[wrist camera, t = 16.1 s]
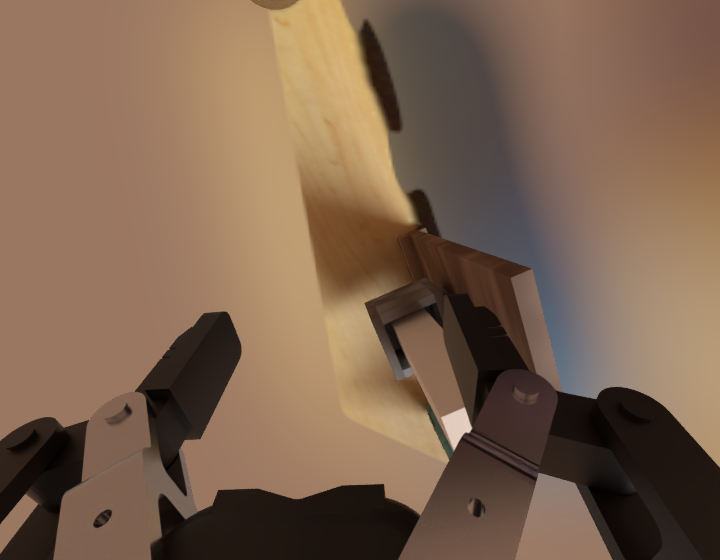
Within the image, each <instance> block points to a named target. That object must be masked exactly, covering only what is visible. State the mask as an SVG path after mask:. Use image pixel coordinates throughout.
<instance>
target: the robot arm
mask: <svg viewBox="0 0 720 560" xmlns="http://www.w3.org/2000/svg"><path fill="white" fill-rule="evenodd" d="M251 1H253V2H254V3H255V4H257V5H259V6H261V7H264V8H268V9H284V8H287V7H290V6H291V5H293V4H295V3H296V2H297V1H298V0H251ZM443 337H444V343H445V347H446V350H447V353H448V356H449V359H450V362H451V365H452V369H453V372H454V375H455V378H456V381H457V384H458V387H459V390H460V393H461V397H462V400H463V403H464V406H465V409H466V412H467V415H468V418H469V421H470V425H471V427H472V429H471V431H470V432H469V433H467V432H465V433H464V434H463V436H462V437H461V439H460V440H459V442H458V444H457V446H456V448H455V450H454V452H453V454H452V456H451V458H450V460H449V462H448V464H447V466H446V468H445V470H444V471H443V473H442V475H441V477H440V479H439V481H438V483H437V485H436V487H435V489H434V491H433V493H432V495H431V497H430V499H429V501H428V502H427V504H426V506H425V508H424V510H423V512H422V514H421V515H419V514H418V513H417V512H416V511H414V510H413V509H411V508H409V507H408V506H406V505H404V504H402V503H400V502H398V501H395V500H392V499H389V498H386V497H385V490H384V484H374V485H349V486H348V485H346V486H340V487H336V488H333V489H330V490H327V491H324V492H321V493H318V494H315V495H312V496H309V497H306V498H303V499H292V498H288V497H285V496H281V495H278V494H274V493H271V492H267V491H264V490H261V489H235V490H218V492H217V495H216V498H215V500H214V503H213V505H212V506H210V507H208V508H205V509H203V510H201V511H199V512H198V511H197V508H196V506H195V503H194V499H193V494H192V490H191V485H190V481H189V476H188V471H187V467H186V462H185V457H184V453H183V451H182V450H181V448H180V447H181V446H182V444H183V442H184V440H194V439H201V437H202V435H203V433H204V431H205V429H206V427H207V425H208V423H209V420H210V418H211V416H212V414H213V412H214V410H215V408H216V406H217V404H218V402H219V400H220V398H221V396H222V394H223V392H224V390H225V388H226V386H227V384H228V382H229V380H230V378H231V376H232V374H233V372H234V370H235V368H236V366H237V364H238V362H239V359H240V356H241V343H240V340H239V338H238V335H237V333H236V330H235V328H234V325H233V323H232V320H231V318H230V316H229V314H228V313H227V312H212V313H204V314H203V315H202V316H201V317H200V318H199V320H198V321H197V322H196V324H195V325H194V326H193V327H191V328H190V329H188V330H187V331H186V332H184V333H183V334H182V335H180V336H179V337H178V338H177V339H176V340H175V342H174V343H173V344H172V345H171V347H170V350H168V351H167V352H166V353H165V354H164V355H163V357H162V359H160V361H159V362H158V363H157V364H156V366H155V367H154V368H153V369H152V370H151V372H150V373H149V374H148V376H147V377H146V378H145V379H144V380H143V382H142V383H141V384H140V386H139V387H138V388H137V389H136V390H135V392H130V393H126V394H123V395H120V396H118V397H116V398H114V399H112V400H110V401H109V402H107V403H106V404H104V405H103V406H102V407H101V408H99V409H98V410H97V411H96V412H95V413H94V415H93V416H92V417H91V418H90V420H88V421H84V422H81V423H78V424H75V425H72V426H69V427H65V428H64V427H63V426H62V425H61V424H60V423H59V422H58V421H57V420H56V419H54V418H51V417H45V418H40V419H37V420H34V421H31V422H29V423H27V424H25V425H23V426H21V427H19V428H18V429H16V430H14V431H13V432H11V433H10V434H9V435H7V436H6V437H5V438H3V439H2V440H1V441H0V524H1V522H2V521H3V520H4V519H5V518H6V516H7V515H8V514H9V513H10V511H11V510H12V509H13V508H14V507H15V505H16V504H17V503H18V502H19V501H20V499H21V498H22V497H23V496H24V495H25V494H26V495H28V496H29V497H30V498H32V499H33V500H34V501H35V502H37V503H38V505H37V507H36V508H35V509H34V510H33V512H32V513H31V514H30V516H29V517H28V519H27V520H26V521H25V522H24V524H23V525H22V526H21V527H20V529H19V530H18V531H17V533H16V534H15V535H14V537H13V538H12V539H11V540H10V542H9V543H8V544H7V546H6V547H5V548H4V550H3V551H2V553H1V554H0V560H515V557H516V553H517V549H518V546H519V542H520V539H521V535H522V532H523V528H524V524H525V520H526V517H527V513H528V510H529V506H530V503H531V499H532V495H533V492H534V488H535V485H536V481H537V477H538V473H542V474H546V475H549V476H553V477H556V478H560V479H563V480H567V481H570V482H574V483H576V485H577V487H578V489H579V491H580V494H581V495H582V498H583V500H584V501H585V504H586V506H587V508H588V510H589V512H590V514H591V516H592V518H593V520H594V522H595V524H596V526H597V529H598V531H599V532H600V535H601V537H602V539H603V541H604V543H605V545H606V547H607V549H608V551H609V553H610V555H611V557H612V559H613V560H720V467H719V466H718V465H717V464H716V463H715V462H714V461H713V460H712V459H711V457H710V456H709V455H708V454H707V453H706V452H705V451H704V450H703V449H702V447H701V446H700V445H699V444H698V443H697V442H696V441H695V440H694V438H693V437H692V436H691V435H690V434H689V433H688V432H687V431H686V430H685V428H684V427H683V426H682V425H681V424H680V423H679V422H678V421H677V420H676V419H675V417H674V416H673V415H672V414H671V413H670V412H669V411H668V410H667V409H666V408H665V407H664V406H663V405H662V404H660V403H659V402H657V401H656V400H654V399H653V398H651V397H649V396H647V395H645V394H643V393H641V392H638V391H635V390H632V389H628V388H623V387H610V388H606V389H604V390H602V391H601V392H600V393H599V395H598V397H597V399H592V398H587V397H582V396H577V395H572V394H567V393H563V392H560V391H557V390H555V389H554V387H553V386H552V385H551V384H550V383H549V382H548V381H547V380H546V379H544V378H543V377H542V376H540V375H538V374H536V373H533V372H531V371H530V370H529V369H528V367H527V366H526V364H525V362H524V361H523V359H522V357H521V356H520V354H519V352H518V351H517V349H516V347H515V346H514V344H513V342H512V341H511V339H510V337H508V334H507V332H506V331H505V329H504V328H503V327H502V324H501V323H500V321H499V319H498V318H497V316H496V315H495V314H494V313H493V312H491V311H490V310H489V309H487V308H486V307H485V306H479V307H474V305H473V303H472V301H471V299H470V297H469V295H468V294H467V293H463V294H450V295H445V297H444V316H443Z"/></svg>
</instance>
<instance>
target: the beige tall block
mask: <svg viewBox="0 0 720 560" xmlns="http://www.w3.org/2000/svg"><path fill="white" fill-rule="evenodd" d="M390 323H391V325H392V328H393V330H394V332H395V335H396V337H397V340H398V342H399V344H400V346H401V348H402V350H403V352H404V354H405V356H406V358H407V360H408V362H409V364H410V366H411V368H412V370H413V372H414V374H415V376H416V378H417V380H418V382H419V384H420V386H421V388H422V390H423V392H424V394H425V396H426V398H427V400H428V402H429V404H430V406H431V408H432V410H433V412H434V414H435V416H436V418H437V420H438V422H439V424H440V426H441V428H442V430H443V432H444V434H445V436H446V438H447V440H448V442H449V444H450V446H451V448H452V450H453V452H454V450H455V448H456V446H457V444H458V442H459V440H460V439H461V437H462V436H463V434H464V433H465V432H467V433H469V432H470V431H471V429H472V427H471V425H470V421H469V418H468V415H467V412H466V409H465V406H464V403H463V400H462V397H461V393H460V390H459V387H458V384H457V381H456V378H455V375H454V372H453V369H452V365H451V362H450V359H449V356H448V353H447V350H446V347H445V343H444V337H443V329H442V328H441V327H440V326H439V324H438V323H437V322H436V321H435V320H434V319H433V318H432V317H431V315H430V314H429V313H428V312H427V311H426V310H425V309H424V308H422V309H419V310H417V311H415V312H412V313H410V314H408V315H405V316H403V317H400V318H398V319H396V320H393V321H391V322H390Z"/></svg>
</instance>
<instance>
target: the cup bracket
mask: <svg viewBox="0 0 720 560" xmlns="http://www.w3.org/2000/svg"><path fill="white" fill-rule="evenodd" d="M397 239H398V241H399V244H400V247H401V249H402V252H403V255H404V258H405V260H406V263H407V266H408V268H409V271H410V274H411V276H412V279H413V283H410V284H408V285H406V286H403V287H401V288H399V289H396V290H394V291H392V292H389V293H387V294H385V295H382V296H380V297H378V298H375V299H373V300H371V301H368V302H366V303H365V306H366V308H367V311H368V313H369V316H370V319H371V321H372V324H373V326H374V328H375V330H376V333H377V335H378V337H379V340H380V342H381V344H382V347H383V349H384V351H385V354H386V356H387V358H388V361H389V363H390V365H391V367H392V370H393V372H394V374H395V377H396V379H397V381H400V380H402V379H404V378H407V377H409V376H411V375H414V372H413V370H412V368H411V366H410V364H409V362H408V360H407V358H406V356H405V354H404V352H403V350H402V348H401V346H400V344H399V342H398V340H397V337H396V335H395V332H394V330H393V328H392V325H391V323H390V322H391V321H393V320H396V319H398V318H400V317H403V316H405V315H408V314H410V313H412V312H415V311H417V310H419V309H422V308H424V309H425V310H426V311H427V312H428V313H429V314H430V315H431V317H432V318H433V319H434V320H435V321H436V322H437V323H438V324H439V326H440V327H441V328H442V329H443V316H444V297H445V295H450V294H463V293H467V294H468V295H469V297H470V299H471V301H472V303H473V305H474V307H479V306H485V307H486V308H487V309H489V310H490V311H491V312H493V313H494V314H495V315H496V316H497V318H498V319H499V321H500V323H501V324H502V327H503V328H504V329H505V331H506V332H507V334H508V337H510V339H511V341H512V342H513V344H514V346H515V347H516V349H517V351H518V352H519V354H520V356H521V357H522V359H523V361H524V362H525V364H526V366H527V367H528V369H529V370H530V371H531V372H533V373H536V374H538V375H540V376H542V377H543V378H544V379H546V380H547V381H548V382H549V383H550V384H551V385H552V386H553V387H554V389H555V390H557V391H560V392H562V388H561V384H560V380H559V376H558V372H557V368H556V364H555V360H554V355H553V351H552V347H551V343H550V339H549V335H548V331H547V327H546V323H545V319H544V315H543V311H542V307H541V303H540V299H539V295H538V290H537V286H536V282H535V278H534V274H533V270H532V269H531V268H528V267H525V266H522V265H519V264H516V263H513V262H510V261H508V260H504V259H502V258H498V257H496V256H493V255H490V254H486V253H484V252H481V251H478V250H475V249H472V248H469V247H466V246H463V245H460V244H457V243H454V242H451V241H448V240H445V239H442V238H439V237H436V236H433V235H431V234H428V233H427V231H426V228H424V227H421V228H419V229H416V230H414V231H412V232H409V233H407V234H405V235H402V236H400V237H398V238H397Z"/></svg>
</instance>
